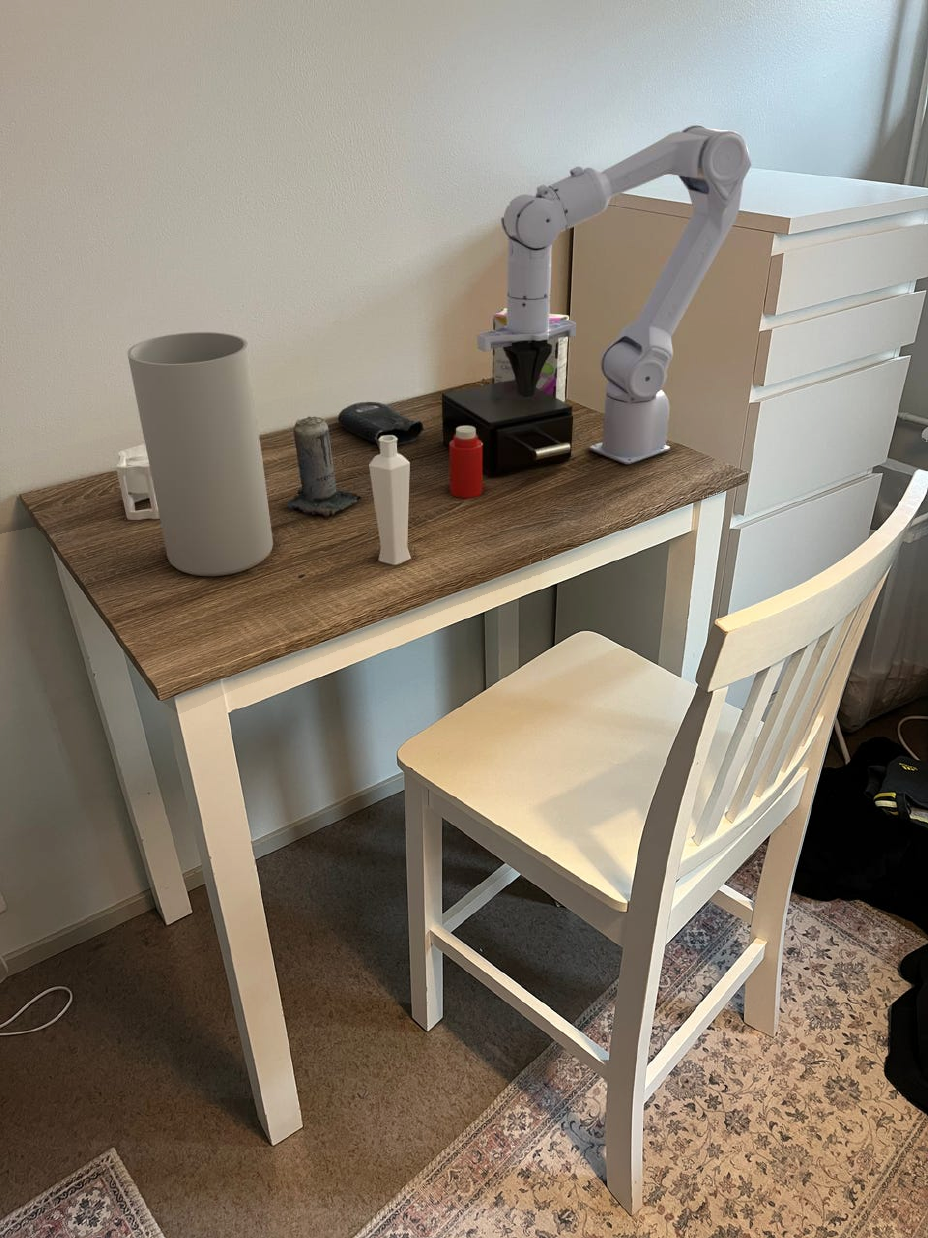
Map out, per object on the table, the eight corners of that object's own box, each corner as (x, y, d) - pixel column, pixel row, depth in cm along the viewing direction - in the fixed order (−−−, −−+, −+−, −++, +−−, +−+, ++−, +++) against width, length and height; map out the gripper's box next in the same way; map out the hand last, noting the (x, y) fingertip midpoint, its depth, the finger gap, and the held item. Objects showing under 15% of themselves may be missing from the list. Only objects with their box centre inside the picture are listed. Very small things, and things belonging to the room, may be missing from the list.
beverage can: (281, 512, 125) (270, 425, 119) (308, 490, 131) (300, 406, 125) (343, 522, 122) (335, 433, 116) (368, 499, 128) (362, 413, 122)
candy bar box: (490, 416, 156) (491, 314, 147) (502, 406, 160) (503, 307, 151) (555, 425, 152) (559, 321, 143) (565, 415, 156) (570, 313, 147)
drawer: (589, 468, 135) (592, 425, 131) (514, 485, 130) (515, 441, 126) (523, 428, 148) (524, 389, 145) (452, 442, 143) (452, 402, 140)
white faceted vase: (408, 567, 112) (403, 447, 104) (373, 564, 112) (364, 444, 105) (418, 550, 116) (413, 432, 108) (383, 547, 116) (376, 430, 108)
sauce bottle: (468, 482, 133) (468, 420, 128) (488, 492, 130) (489, 429, 125) (443, 490, 131) (442, 428, 126) (463, 500, 128) (463, 437, 123)
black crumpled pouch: (428, 445, 149) (378, 407, 158) (426, 414, 145) (374, 377, 154) (378, 466, 145) (329, 426, 154) (374, 435, 141) (324, 395, 150)
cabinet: (569, 459, 140) (572, 406, 135) (489, 477, 134) (489, 422, 130) (518, 428, 151) (519, 378, 146) (442, 444, 145) (441, 392, 141)
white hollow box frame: (246, 464, 139) (239, 416, 135) (277, 490, 131) (270, 439, 127) (108, 496, 130) (97, 445, 126) (132, 526, 122) (121, 472, 118)
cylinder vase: (279, 570, 111) (252, 358, 98) (169, 586, 108) (127, 369, 95) (267, 525, 122) (241, 328, 108) (166, 538, 119) (127, 337, 106)
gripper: (496, 307, 120) (495, 411, 127) (591, 294, 126) (585, 394, 133) (469, 296, 125) (470, 396, 132) (561, 283, 131) (557, 380, 138)
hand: (525, 394), depth 133 cm, fingers closed
